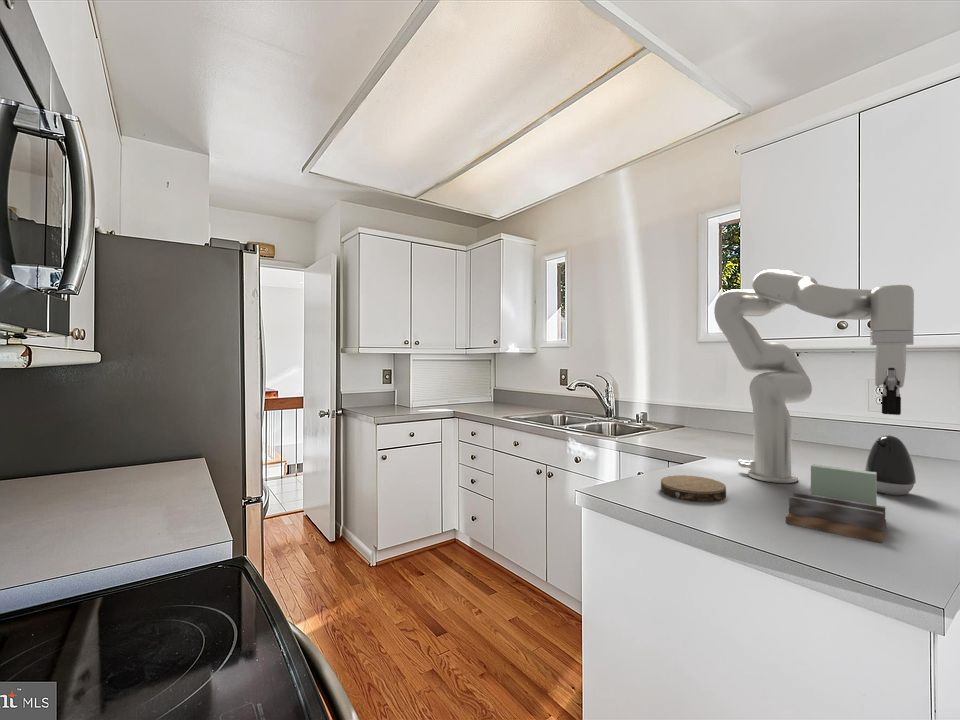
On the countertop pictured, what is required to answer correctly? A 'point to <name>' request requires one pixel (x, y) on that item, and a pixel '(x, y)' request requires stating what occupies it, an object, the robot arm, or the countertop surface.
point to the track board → (837, 516)
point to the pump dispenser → (891, 466)
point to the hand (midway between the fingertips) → (891, 412)
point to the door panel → (844, 484)
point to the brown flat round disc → (693, 488)
